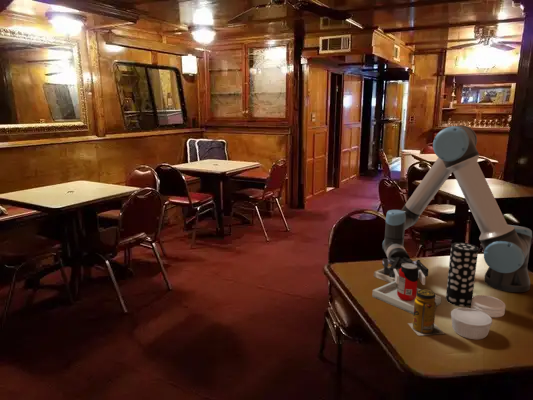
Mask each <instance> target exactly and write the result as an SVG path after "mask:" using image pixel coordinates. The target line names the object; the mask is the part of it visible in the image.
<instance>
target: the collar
mask: <svg viewBox="0 0 533 400" xmlns="http://www.w3.org/2000/svg"><path fill="white" fill-rule="evenodd" d="M390 267H391V266H390V265H388V268H389V269H390ZM397 272H398V275H399V269H397ZM373 277H374V278H377V279H379V280H381V281H385V282H387V283H391V282H393V281H395V279H394V278H392V277H389V275H388V274H384V267H382V268H379V269H378V270H375V271H373Z"/></svg>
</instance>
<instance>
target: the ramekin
mask: <svg viewBox="0 0 533 400" xmlns="http://www.w3.org/2000/svg"><path fill="white" fill-rule="evenodd" d="M450 317H451V328H452V329H453V330H454V333H456V334H457V335H459V336H460V337H463V338H466V339H469V340H483V339H484V338H486V337H487V336H488V335H489V332H490V329H491V326H492V325H493V318H492V317H490V316H489V315H487V314H486V313H484V312H481V311H479V310H475V309H472V308H471V307H470V308H469V307H458V308H457V307H456V308H454V309H452V310H451V311H450Z"/></svg>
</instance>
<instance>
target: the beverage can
mask: <svg viewBox="0 0 533 400" xmlns="http://www.w3.org/2000/svg"><path fill="white" fill-rule="evenodd" d="M418 279H419V278H418V269H417V266H416V265H415V264H412V263H403V264H402V265H401V267H400V269H399V284H398V290H397V295H398V296H399V297H400V298H401V299H402V300H406V301H411V300H413V299H415V298H416V293H417V288H418V281H419V280H418Z"/></svg>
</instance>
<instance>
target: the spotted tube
mask: <svg viewBox="0 0 533 400" xmlns="http://www.w3.org/2000/svg"><path fill="white" fill-rule="evenodd" d="M450 245H451V246H450V255H449V264H448V271H447V283H446V291H445V292H446V293H445V300H446V302H447V303H449V304H451V305H453V306H457V307H469V306H470V307H471V302H472V298H473V297H474V296H473V294H474V287H475V279H476V270H477V263H478V255H479V254H478V253H479V247H478V245H477V246H476V245H474V244H471V243H467V242H453V243H451V244H450Z"/></svg>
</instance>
